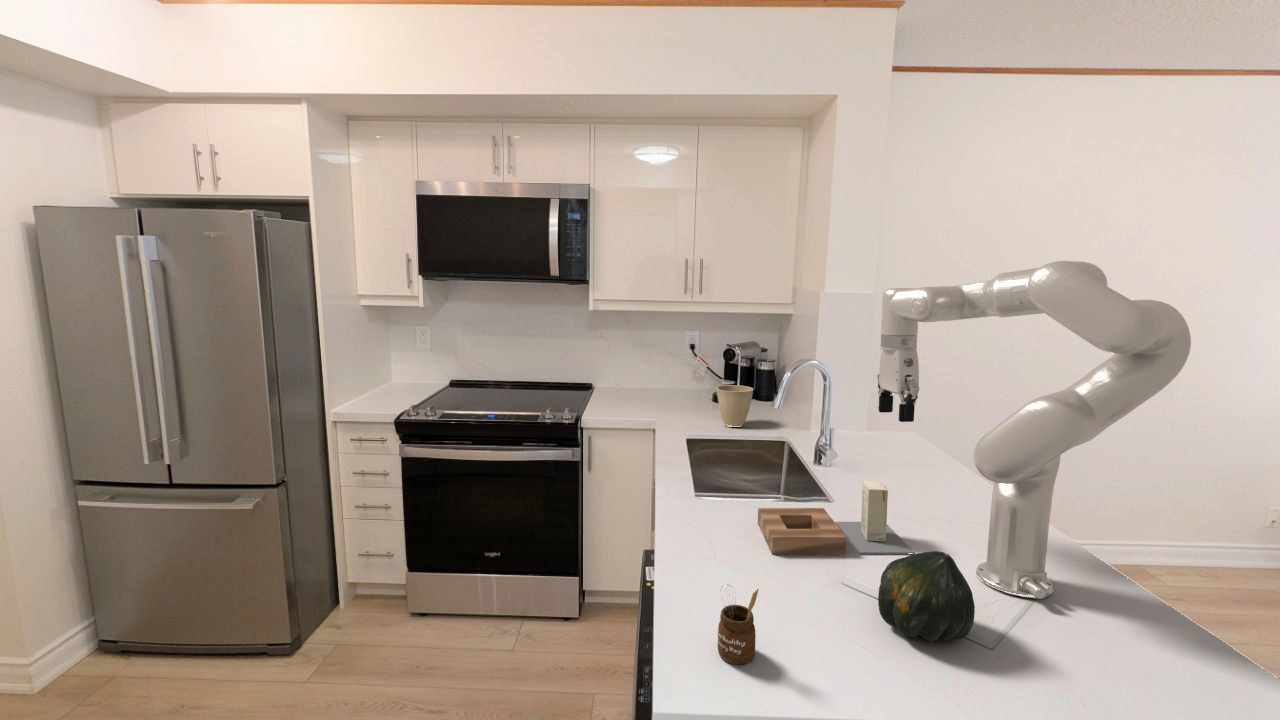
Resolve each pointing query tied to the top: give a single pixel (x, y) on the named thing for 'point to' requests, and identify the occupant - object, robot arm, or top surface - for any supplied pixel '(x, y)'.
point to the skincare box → (874, 511)
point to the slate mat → (873, 547)
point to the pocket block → (801, 531)
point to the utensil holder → (737, 632)
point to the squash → (926, 597)
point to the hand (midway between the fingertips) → (895, 416)
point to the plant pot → (734, 403)
